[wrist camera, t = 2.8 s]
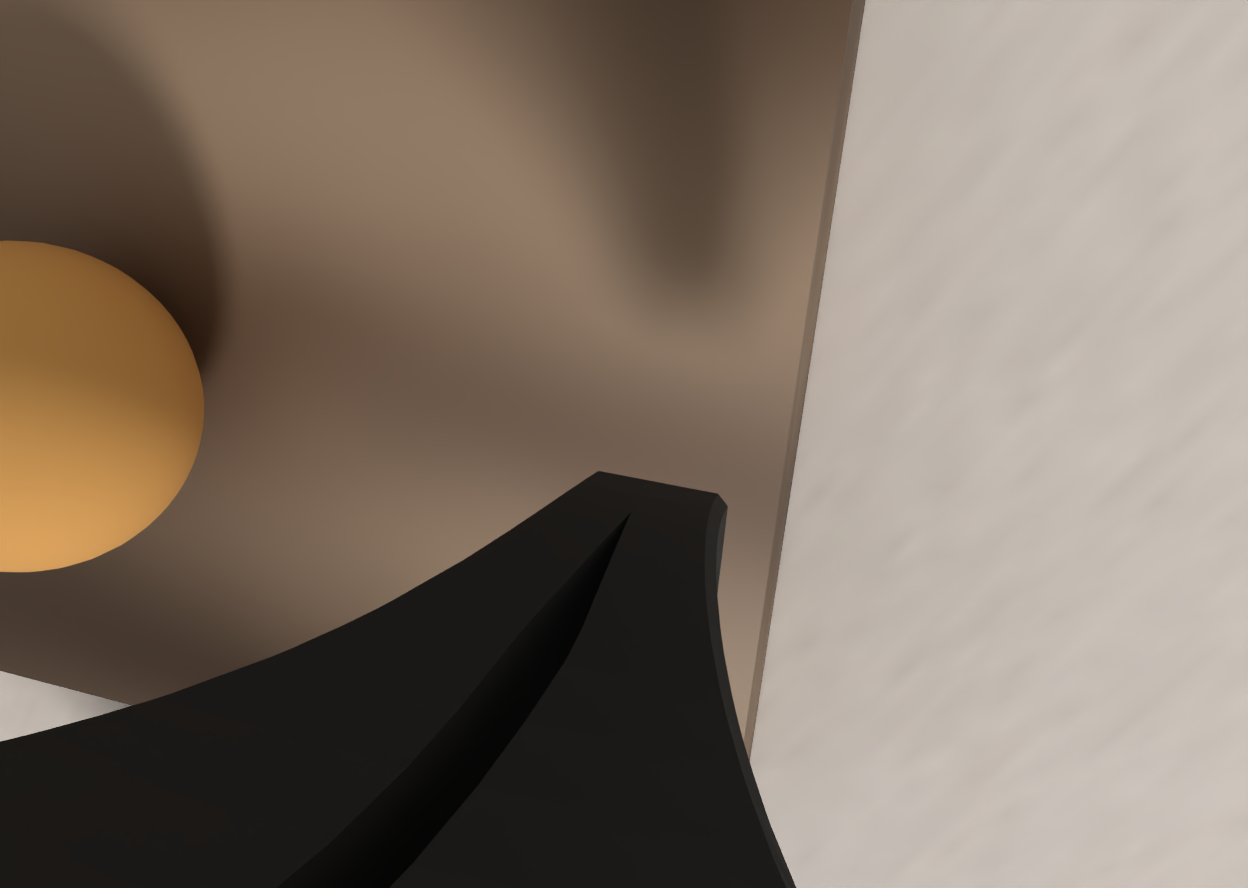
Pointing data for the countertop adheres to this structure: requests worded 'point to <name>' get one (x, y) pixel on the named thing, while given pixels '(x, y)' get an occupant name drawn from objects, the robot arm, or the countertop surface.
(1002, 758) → the countertop surface
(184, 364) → the ball
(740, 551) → the board
